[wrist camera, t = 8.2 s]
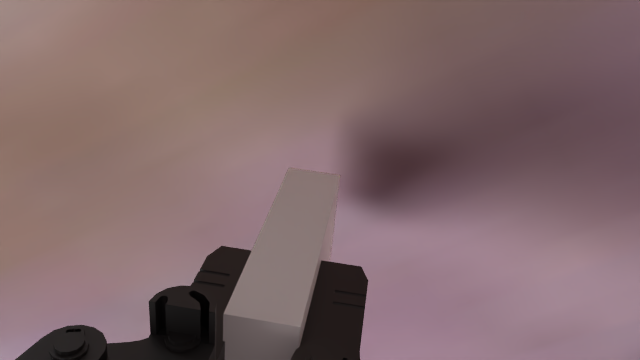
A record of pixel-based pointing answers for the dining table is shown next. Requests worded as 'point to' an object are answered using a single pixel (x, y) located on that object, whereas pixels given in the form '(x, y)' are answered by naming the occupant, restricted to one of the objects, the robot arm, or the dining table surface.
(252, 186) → the dining table surface
